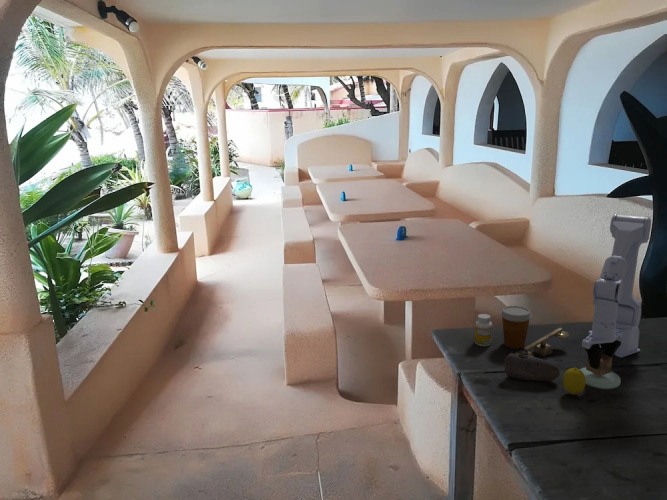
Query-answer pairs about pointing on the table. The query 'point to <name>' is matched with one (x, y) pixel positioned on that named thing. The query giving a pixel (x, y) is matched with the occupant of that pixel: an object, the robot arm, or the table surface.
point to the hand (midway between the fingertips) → (599, 365)
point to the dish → (601, 380)
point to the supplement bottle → (483, 330)
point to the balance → (543, 344)
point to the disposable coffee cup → (515, 325)
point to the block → (601, 366)
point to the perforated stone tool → (530, 368)
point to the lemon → (574, 381)
